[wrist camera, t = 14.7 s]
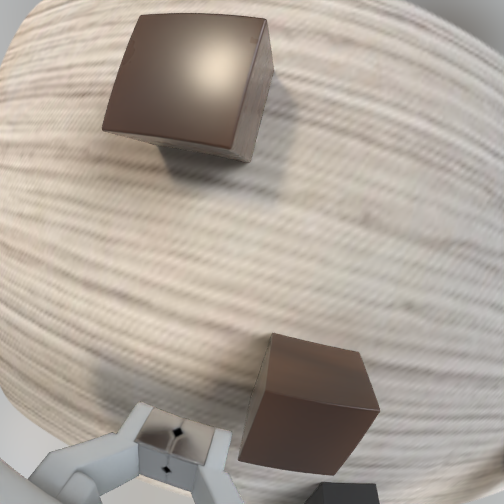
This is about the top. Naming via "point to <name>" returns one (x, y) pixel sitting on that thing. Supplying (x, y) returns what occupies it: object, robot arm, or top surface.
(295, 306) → the top surface
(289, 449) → the middle cube
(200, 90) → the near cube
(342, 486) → the cube
